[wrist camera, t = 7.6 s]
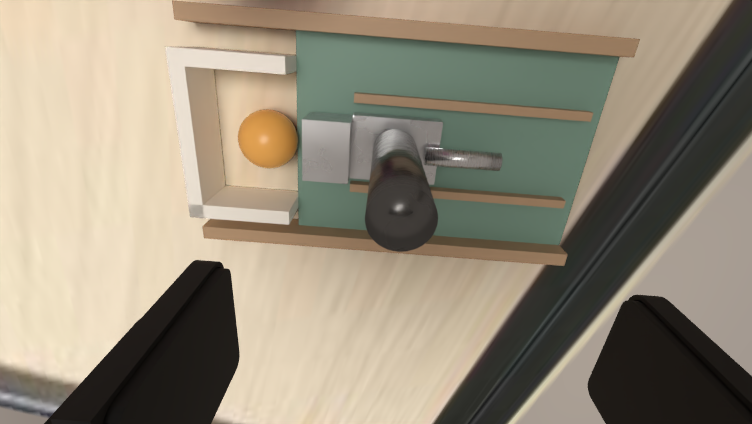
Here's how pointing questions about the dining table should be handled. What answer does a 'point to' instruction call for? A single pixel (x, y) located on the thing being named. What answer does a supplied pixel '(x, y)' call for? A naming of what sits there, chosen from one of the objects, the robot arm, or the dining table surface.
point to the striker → (386, 168)
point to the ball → (268, 138)
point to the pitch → (413, 99)
